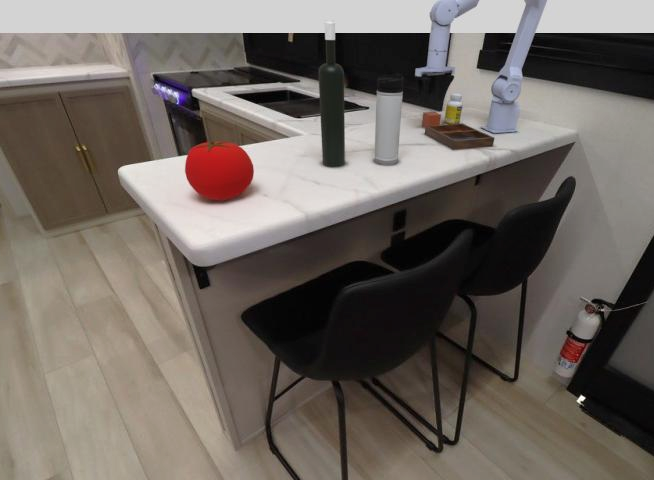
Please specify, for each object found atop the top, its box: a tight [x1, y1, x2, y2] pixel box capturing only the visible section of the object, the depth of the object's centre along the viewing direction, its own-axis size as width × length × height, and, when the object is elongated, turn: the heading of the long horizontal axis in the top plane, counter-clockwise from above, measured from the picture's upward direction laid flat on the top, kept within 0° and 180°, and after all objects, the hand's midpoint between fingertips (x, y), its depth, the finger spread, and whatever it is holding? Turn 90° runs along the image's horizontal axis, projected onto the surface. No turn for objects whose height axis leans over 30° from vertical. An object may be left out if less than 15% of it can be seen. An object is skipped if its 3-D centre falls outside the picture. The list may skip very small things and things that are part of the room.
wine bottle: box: [318, 19, 346, 168], centre depth 89 cm, size 6×6×30 cm
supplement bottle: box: [443, 92, 464, 125], centre depth 131 cm, size 5×5×10 cm
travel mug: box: [373, 73, 405, 166], centre depth 95 cm, size 6×7×20 cm
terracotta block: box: [421, 111, 442, 129], centre depth 129 cm, size 4×4×4 cm
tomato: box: [184, 140, 255, 201], centre depth 77 cm, size 12×13×11 cm
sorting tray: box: [424, 122, 495, 151], centre depth 118 cm, size 14×18×2 cm
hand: (432, 100), depth 122 cm, fingers open, 7 cm apart
